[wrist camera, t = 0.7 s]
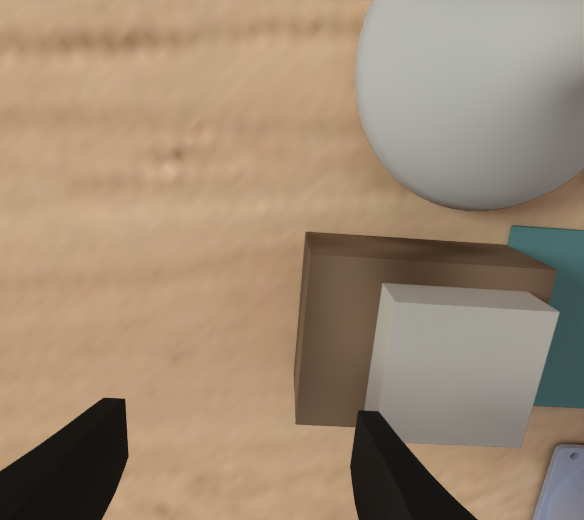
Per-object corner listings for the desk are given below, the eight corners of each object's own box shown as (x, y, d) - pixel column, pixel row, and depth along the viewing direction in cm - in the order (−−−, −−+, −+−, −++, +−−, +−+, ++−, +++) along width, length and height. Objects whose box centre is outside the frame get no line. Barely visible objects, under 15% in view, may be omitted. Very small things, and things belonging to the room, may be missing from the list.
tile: (527, 291, 16) (559, 311, 14) (495, 415, 18) (520, 448, 16) (382, 282, 16) (395, 302, 14) (364, 408, 18) (373, 441, 16)
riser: (505, 244, 20) (557, 269, 16) (473, 383, 22) (512, 434, 18) (305, 232, 20) (310, 254, 16) (293, 374, 22) (295, 424, 18)
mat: (657, 235, 20) (662, 236, 20) (598, 405, 23) (602, 409, 23) (511, 225, 20) (515, 226, 19) (471, 399, 23) (473, 402, 22)
